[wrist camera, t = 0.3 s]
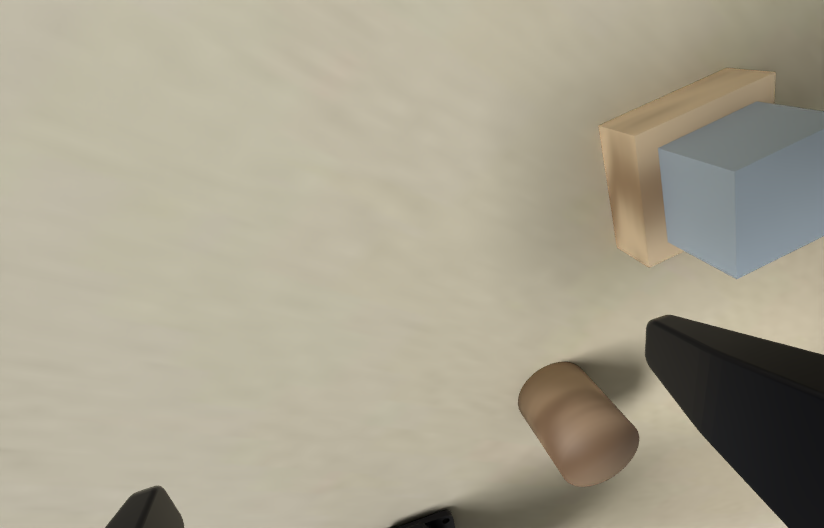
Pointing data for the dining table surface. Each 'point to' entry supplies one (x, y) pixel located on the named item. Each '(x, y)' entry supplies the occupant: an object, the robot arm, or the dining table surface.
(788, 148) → the top block
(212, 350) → the dining table surface
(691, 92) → the base block
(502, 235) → the dining table surface
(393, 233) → the dining table surface
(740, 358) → the robot arm
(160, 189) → the dining table surface
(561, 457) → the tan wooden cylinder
